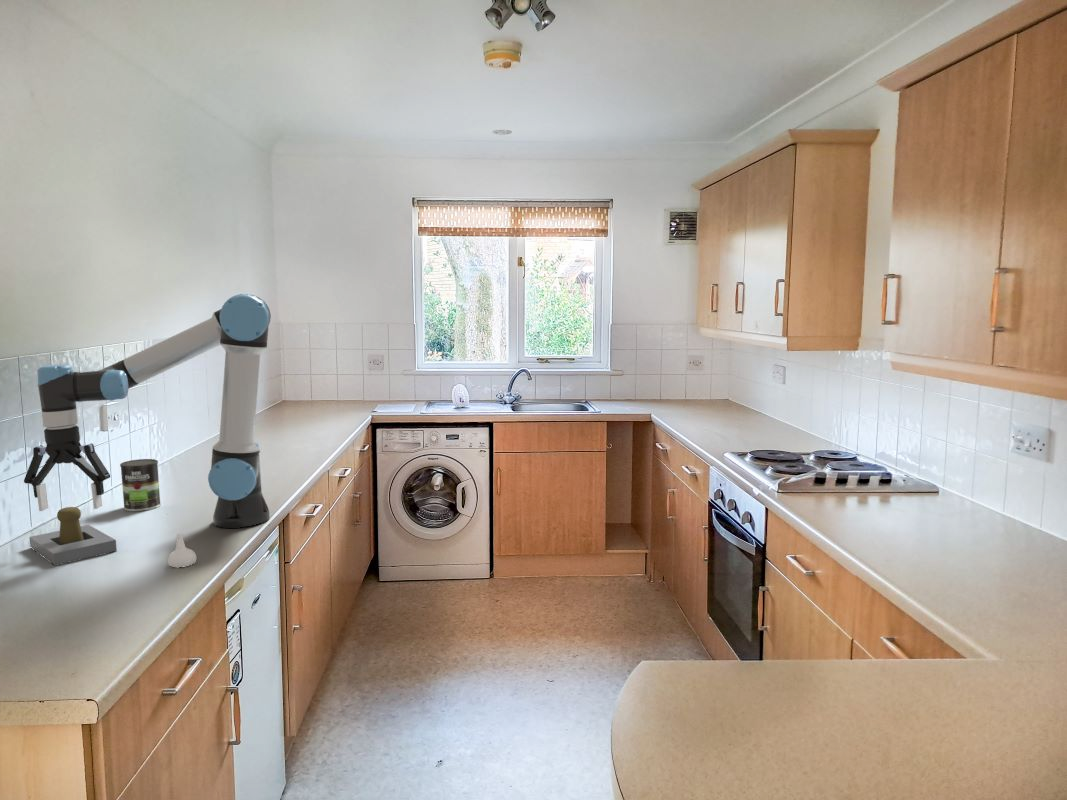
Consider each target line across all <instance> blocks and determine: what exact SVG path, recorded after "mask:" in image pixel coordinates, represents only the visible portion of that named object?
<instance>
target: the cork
mask: <svg viewBox="0 0 1067 800" xmlns="http://www.w3.org/2000/svg"><path fill="white" fill-rule="evenodd" d="M81 515H82V512H81V509H80V508H79V507H77V506H69V507H68V506H66V507H63V508H61V509H59V510H58V512H57V516H56V517H57V520H58V522H60V523H59V531H60V535H59V545H64V544H69V543H73V542H78V541H82V540H84V538H83V534H82V530H81V526H82V525H81V524H80V518H81Z"/></svg>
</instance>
